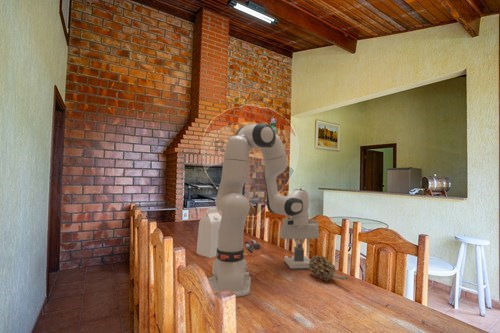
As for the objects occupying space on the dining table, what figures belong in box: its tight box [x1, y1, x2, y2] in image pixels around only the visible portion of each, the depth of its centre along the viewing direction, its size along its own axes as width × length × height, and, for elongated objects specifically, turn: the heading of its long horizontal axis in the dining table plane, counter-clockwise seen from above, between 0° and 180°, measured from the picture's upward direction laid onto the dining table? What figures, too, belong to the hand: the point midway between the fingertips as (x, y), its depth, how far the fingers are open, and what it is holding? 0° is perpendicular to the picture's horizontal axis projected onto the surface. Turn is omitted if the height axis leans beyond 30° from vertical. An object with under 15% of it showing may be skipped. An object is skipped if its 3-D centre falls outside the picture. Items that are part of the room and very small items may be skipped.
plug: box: [293, 246, 305, 262], centre depth 141 cm, size 6×5×8 cm
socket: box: [283, 255, 311, 271], centre depth 141 cm, size 12×12×4 cm
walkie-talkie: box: [245, 239, 261, 253], centre depth 170 cm, size 9×4×20 cm
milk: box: [195, 207, 222, 259], centre depth 158 cm, size 12×12×26 cm
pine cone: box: [308, 254, 349, 282], centre depth 121 cm, size 22×10×10 cm, turn 36°
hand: (299, 247), depth 141 cm, fingers closed
